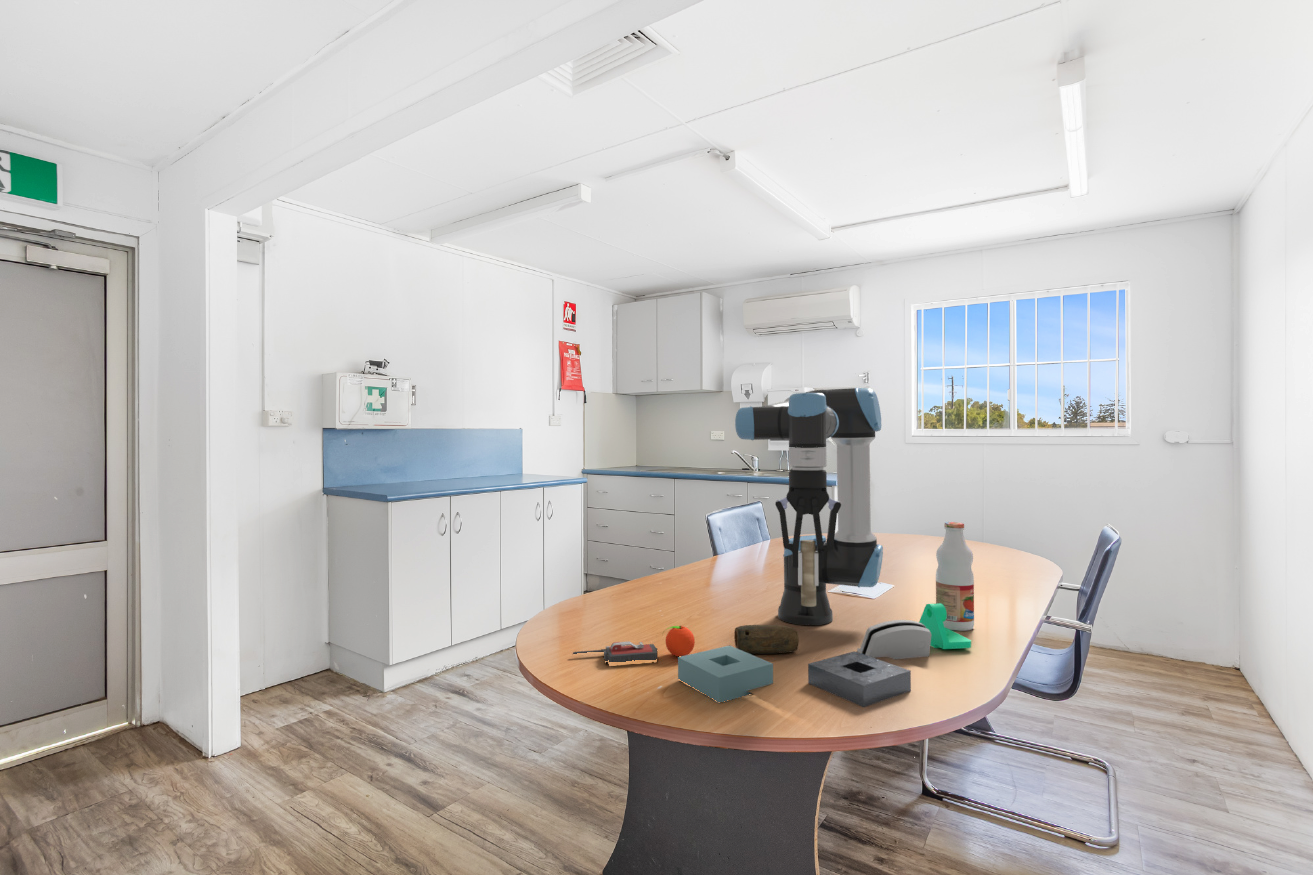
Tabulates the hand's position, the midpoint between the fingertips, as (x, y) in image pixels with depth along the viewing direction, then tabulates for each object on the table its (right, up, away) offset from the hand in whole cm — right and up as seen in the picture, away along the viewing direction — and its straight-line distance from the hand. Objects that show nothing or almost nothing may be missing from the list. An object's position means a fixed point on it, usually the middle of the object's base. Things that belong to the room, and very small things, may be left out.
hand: (808, 583), depth 132 cm
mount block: (+10, -22, -2) cm, 24 cm away
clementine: (-26, -22, +21) cm, 40 cm away
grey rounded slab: (+25, -22, +19) cm, 38 cm away
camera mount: (+40, -22, +28) cm, 54 cm away
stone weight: (-5, -22, +23) cm, 32 cm away
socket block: (-17, -22, +3) cm, 27 cm away
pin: (0, -4, 0) cm, 4 cm away
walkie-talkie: (-40, -22, +18) cm, 49 cm away
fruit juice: (+50, -22, +43) cm, 69 cm away
